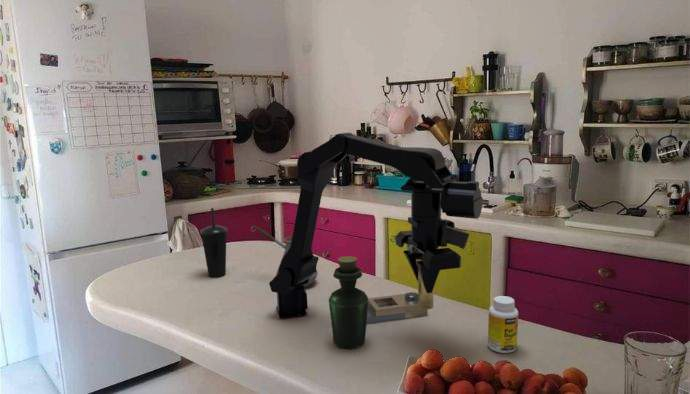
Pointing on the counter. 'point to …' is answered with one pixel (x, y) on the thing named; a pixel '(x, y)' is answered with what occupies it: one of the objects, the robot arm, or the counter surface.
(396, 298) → the knobbed window plate
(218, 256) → the drinking cup
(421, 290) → the pin
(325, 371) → the counter surface
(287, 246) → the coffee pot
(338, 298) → the potion bottle
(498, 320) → the supplement bottle
